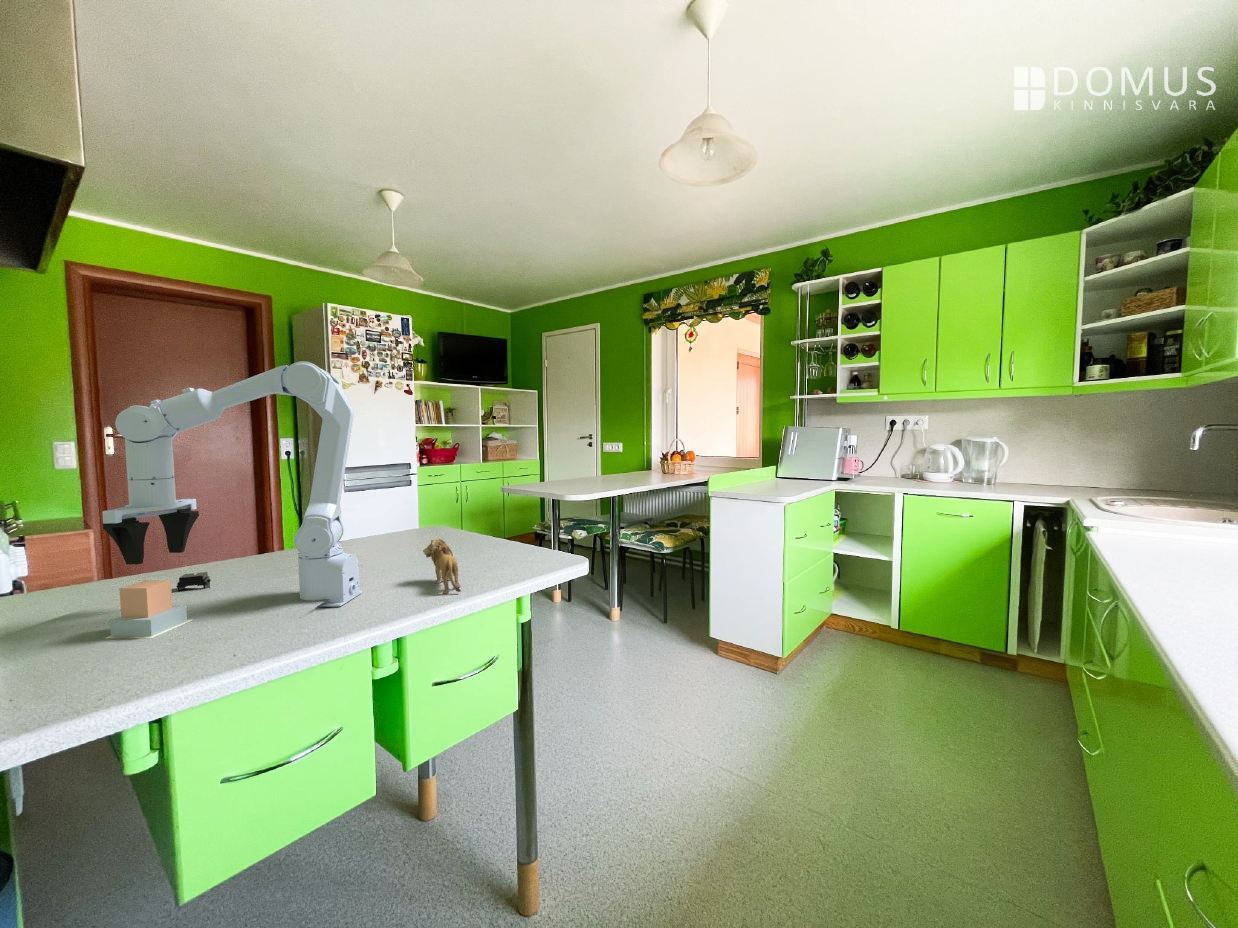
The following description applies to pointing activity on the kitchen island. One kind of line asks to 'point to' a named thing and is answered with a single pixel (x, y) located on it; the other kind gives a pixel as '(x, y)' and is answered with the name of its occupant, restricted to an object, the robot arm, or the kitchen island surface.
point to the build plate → (194, 580)
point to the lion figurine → (443, 563)
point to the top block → (145, 598)
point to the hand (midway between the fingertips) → (156, 557)
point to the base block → (148, 623)
